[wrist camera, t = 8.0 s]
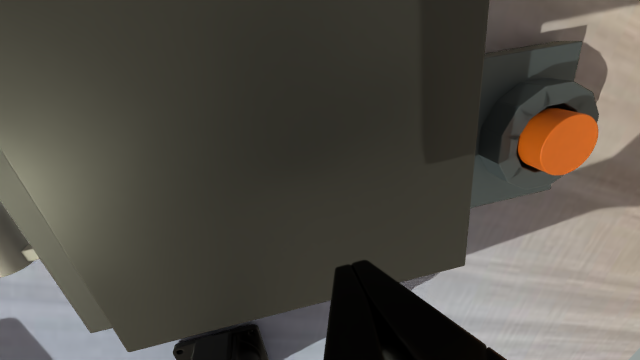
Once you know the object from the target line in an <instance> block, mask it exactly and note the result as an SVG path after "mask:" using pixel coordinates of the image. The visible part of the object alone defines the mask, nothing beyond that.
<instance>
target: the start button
mask: <svg viewBox="0 0 640 360" xmlns="http://www.w3.org/2000/svg"><path fill="white" fill-rule="evenodd" d="M597 138H598V126H597V123H596V121H595V120H594V119H593V118H592V117H591V116H589V115H587V114H583V113H578V112H573V111H569V110H564V109H559V108H549V109H546V110H543V111H541V112H539V113H538V114H536V115H535V116H534V117H533V118H531V119H530V120H529V122H528V124H527V125H526V127H525V128H524V130H523V132H522V133H521V135H520V136H519V140H518V146H517V152H518V156H519V157H520V159H521V160H522V161H523V162H524V163H525V164H527V165H530V166H532V167H534V168H536V169H539V170H541V171H543V172H546V173H548V174H550V175H564V174H567V173H569V172H571V171H573V170H575V169H576V168H578V167H579V166H580V165H581V164H582V163H584V161H585V160H586V159H587V158H588V157H589V156H590V154H591V153H592V151H593V149H594V147H595V145H596V142H597Z"/></svg>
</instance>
